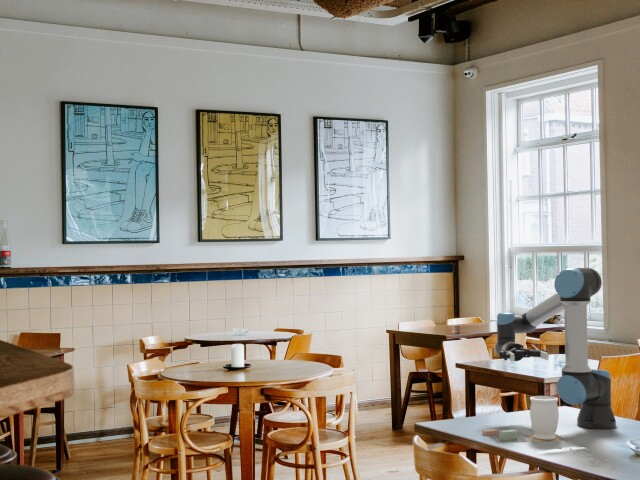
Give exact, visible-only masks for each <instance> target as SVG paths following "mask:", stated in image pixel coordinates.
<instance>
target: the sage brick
mask: <svg viewBox="0 0 640 480" xmlns="http://www.w3.org/2000/svg"><path fill="white" fill-rule="evenodd" d="M517 435H518V430H516V429H505V430H504V429H503V430H500V431H499V435H498V436H499V439H501V440H513V439H517Z"/></svg>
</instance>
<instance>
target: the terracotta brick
mask: <svg viewBox="0 0 640 480" xmlns="http://www.w3.org/2000/svg"><path fill="white" fill-rule="evenodd" d="M499 431H501V430H500V429H497V428H491V429H482V432H481V434H482V435H483V436H486V437H487V436H488V437H489V436H499Z"/></svg>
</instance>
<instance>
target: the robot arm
mask: <svg viewBox="0 0 640 480" xmlns="http://www.w3.org/2000/svg"><path fill="white" fill-rule="evenodd" d="M602 281H603V280H602V278H601V275H600V273H599V272H598V271H597V270H595V269H593V268H590V267H569V268H565V269H562V270H561V271H560V272H559V273H557V275H556V276H555V279H554V285H553V286H554V289H555V293H554V294H553V295H552V296H550V297H548V298H547V299H545V300H544V301H542V302H540V303H538V304H537V305H536V306H534V307H532V308H530V309H529V310H527V311H526V312H525V313H523V314H521V315H516V316H515V313H514V312H499V313H497V316H496V329H497V330H496V332H497V333H496V334H497V335H496V336H497V340H496V341H497V342H496V343H495V345H494V350H495V353H496V354H497V355H498V357H499V359H503V360H504V361H508V360H510V361H511V362H519V361H522V360H523V359H525V358H532V357H533V358H540V359H543V360H546V361H548V360H549V351H548V350H546V349H542V350H540V349H534V348H531V349H530V348H525V347H524V346H523V345H522V344H521V343H518V342H516V334H528V333H532V332H534V331H536V330H537V327H538V326H540V325H541V324H543V323H544V322H546V321H549V319H551V318H553V317H554V316H556V315H558V314H559V313H561V312H564V351H565V352H564V354H565V355H564V356H565V357H564V358H565V359H564V360H565V365H564V367H563V368H561V377H560V378H559V379H558V380H557V381H556V382H557V383H556V392H557V394H558V396H559V398H560V399H561V400H562V401H563V402H564V403H565V404H569V405H576V406H577V405H580V410H579V412H578V415H577V418H576V425H577V426H579V427H580V428H586V429H595V430H596V429H598V430H601V429H603V430H607V429H614V428H616V427H617V420H616V417H615V415H614V412H613V409H612V385H611V383H612V379H611V373H610V371H609V370H606V369H595V368H590V367H589V359H588V358H589V356H588V355H589V353H588V350H589V349H588V313H587V311H588V310H587V309H588V305H589V304H590V303H591V297H593V296H595V295H597V294H598V293H599V291H600V290H601V288H602V283H603V282H602Z"/></svg>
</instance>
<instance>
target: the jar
mask: <svg viewBox="0 0 640 480" xmlns="http://www.w3.org/2000/svg"><path fill="white" fill-rule="evenodd" d="M529 400H530V402H531V403H530V407H529V417H530V423H531V427H532V431H533V434H532V435H533V437H534V438H536V439H542V440H552V439H555V438H556V435H555V434H556V432H557V429H558V423H559V418H560V417H559V413H560V412H559V407H558V402H559V397H556V396H551V395H549V396H548V395H534V396H530V397H529Z"/></svg>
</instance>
